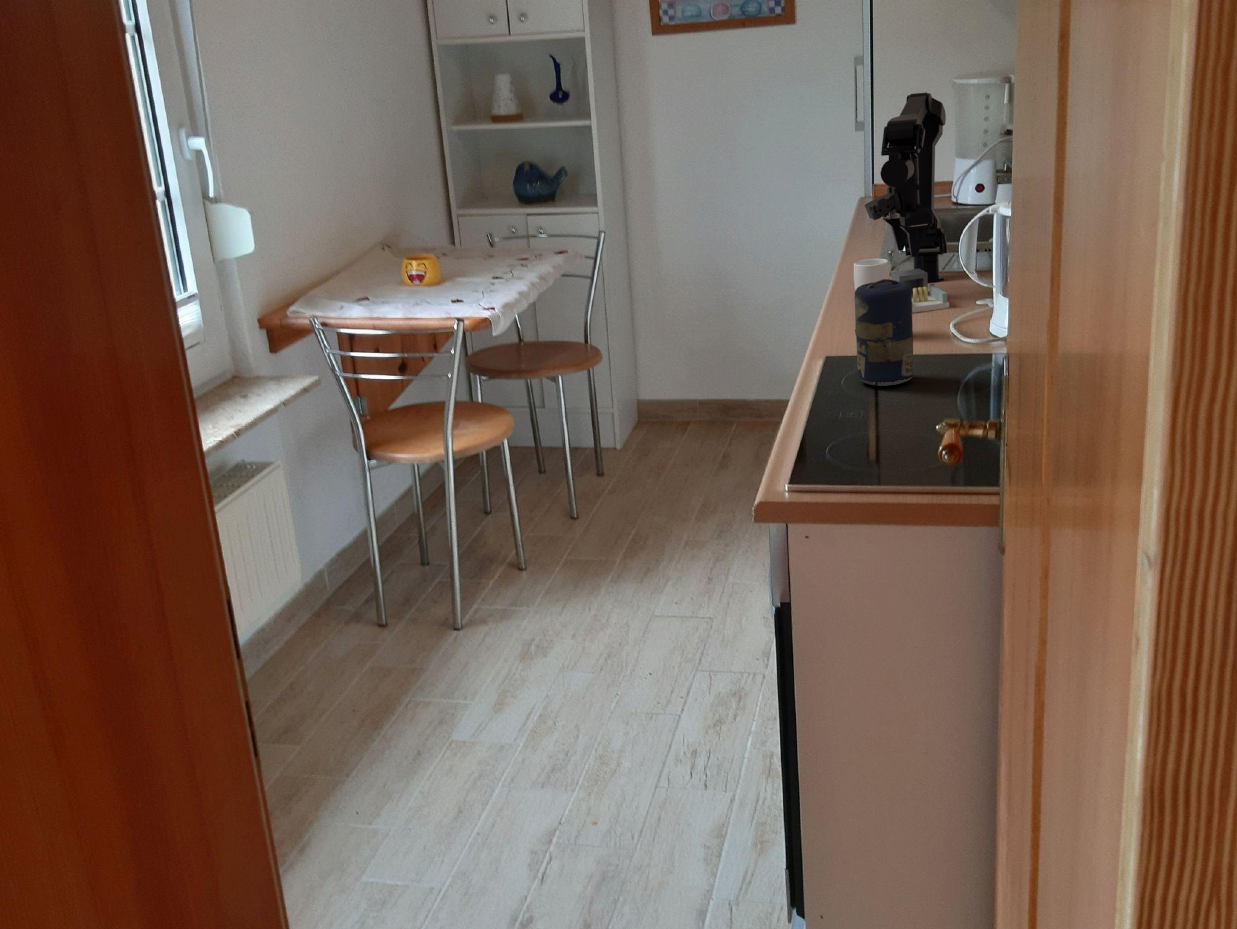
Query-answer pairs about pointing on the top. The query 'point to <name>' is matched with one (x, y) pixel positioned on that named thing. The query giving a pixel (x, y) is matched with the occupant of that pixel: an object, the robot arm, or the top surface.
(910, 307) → the canister
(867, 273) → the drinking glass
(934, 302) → the board
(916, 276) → the grey block
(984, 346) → the top surface
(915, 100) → the robot arm
